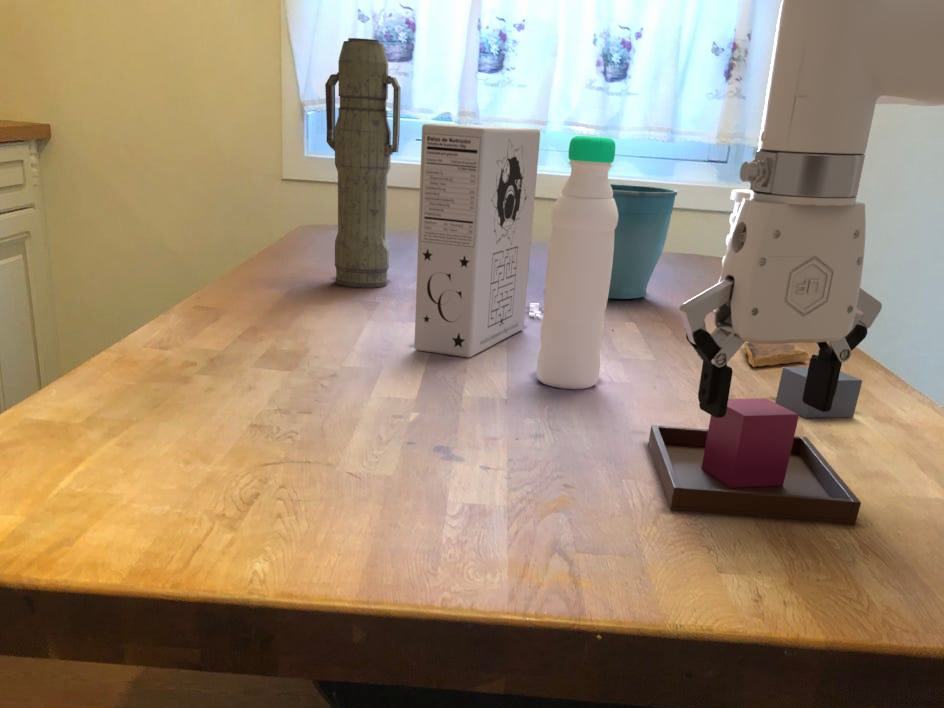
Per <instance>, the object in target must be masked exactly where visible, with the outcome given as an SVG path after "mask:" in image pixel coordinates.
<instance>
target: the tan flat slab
mask: <svg viewBox="0 0 944 708" xmlns="http://www.w3.org/2000/svg"><path fill="white" fill-rule="evenodd" d="M743 347H744V351H745V352H746V355H747V357H748V360H747V361H748V364H749V365H751V367H753V368H756V367H764V366H777V365H780V364H783V365H786V364H790V363H805V362H806V361H807V359H808V357H809V353H808V352H807V351H805V350H804V349H802V348H801V347H800V346H797V345H795V344H792V343H785V344H753V343H749V342H745V343H744V344H743Z"/></svg>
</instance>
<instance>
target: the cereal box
mask: <svg viewBox="0 0 944 708" xmlns="http://www.w3.org/2000/svg"><path fill="white" fill-rule="evenodd" d="M540 142H541V130H540V129H538V128H528V127H515V126H499V125H498V126H497V125H483V124H482V125H481V124H480V125H479V124H450V123H449V124H448V123H447V124H446V123H445V124H444V123H424V124H422V126H421V144H420V145H421V146H420V147H421V148H420V179H419V204H418V205H419V206H418V207H419V208H418V234H417V241H418V242H417V262H416V264H417V265H416V267H417V268H416V292H415V293H416V294H415V321H414V349H415V350H416V351H419V352H427V353H433V354H441V355H447V356H454V357H461V358H469V359H470V358H472V357H473V356H475V355H477V354H479V353H481V352H483V351H485V350H487V349H489V348H490V347H492V346H494V345H496V344H498V343H500V342H502V341H504V340H505V339H507V338H509V337H511V336H513V335H515V334H517V333H518V332H521V331H522V330H524V327H525V316H526V305H527V293H528V283H529V282H528V280H529V271H530V270H529V269H530V260H531V246H532V235H533V225H534V224H533V222H534V221H533V220H534V212H535V202H536V201H535V199H536V189H537V177H538V166H539V165H538V164H539V155H540V154H539V153H540V152H539V151H540Z"/></svg>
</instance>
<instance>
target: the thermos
mask: <svg viewBox="0 0 944 708" xmlns="http://www.w3.org/2000/svg"><path fill="white" fill-rule="evenodd" d="M388 60H389V59H388V56H387V52H386V48H385V45H384V43H380V40H378V39H372V38H371V39H370V38H357V37H348V38H347V40H344V41H343V42H342V47H341V50H340V53H339V57H338V61H337V62H338V63H337V65H338V72H336V73H333V74H330V75H329V77H328V78H327V81H326V82H325V84H324V89H325V91H324V92H325V114H326V115H325V116H326V117H325V118H326V143H327V145H328V146H329V147H330V149H332V150H333V152H334V166H335V168H336V171H337V234H336V237H335V240H334V267H335V284H337V285H340V286H343V287H352V288H364V289H365V288H369V289H370V288H371V289H373V288H383V287H386V286H388V271H389V268H390V244H389V243H390V242H389V239H388V236H387V210H388V209H387V207H388V205H387V202H388V201H387V200H388V174H389V172H390V170H391V156H392V155H393V154H394V153H399V146H400V133H401V131H400V130H401V129H400V128H401V91H402V90H401V89H402V87H401V86H400V84H399V82H398V79H397V77H395V76H392V75H389V61H388ZM337 83H338V97H339V107H338V115H337V119H336V85H337ZM389 85H391V87H392V89H393V93H392V94H393V95H392V96H393V97H392V99H393V101H392V108H393V109H392V129H391V127H390V124H389V120H388V119H389V118H388V114H389V113H388V112H389V111H388V110H387V101H388V100H389ZM391 130H392V131H391Z"/></svg>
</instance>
